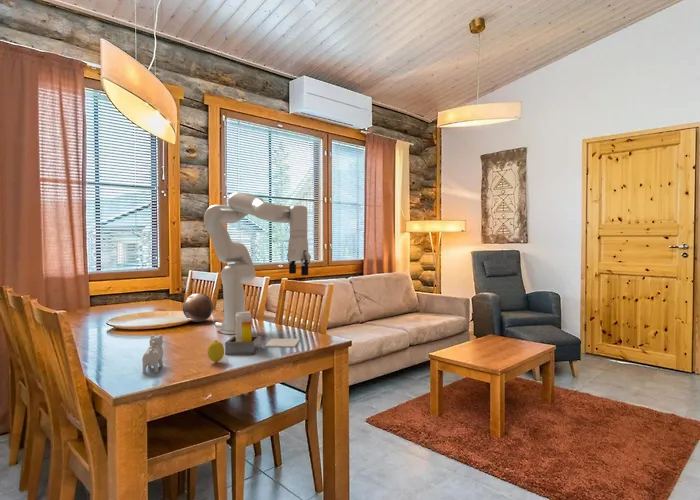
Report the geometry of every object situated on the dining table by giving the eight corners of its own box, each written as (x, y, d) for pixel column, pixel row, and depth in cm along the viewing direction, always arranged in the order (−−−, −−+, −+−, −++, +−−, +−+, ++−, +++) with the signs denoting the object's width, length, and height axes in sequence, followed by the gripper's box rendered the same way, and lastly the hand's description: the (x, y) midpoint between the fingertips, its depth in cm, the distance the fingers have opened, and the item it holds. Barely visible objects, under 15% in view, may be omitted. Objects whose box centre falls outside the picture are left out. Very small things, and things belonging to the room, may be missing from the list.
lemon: (209, 361, 159) (209, 338, 159) (225, 360, 159) (225, 338, 159) (206, 365, 154) (205, 342, 153) (222, 365, 154) (222, 342, 154)
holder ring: (225, 354, 168) (225, 342, 168) (234, 347, 179) (233, 335, 179) (254, 354, 168) (254, 342, 167) (261, 347, 179) (261, 336, 178)
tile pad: (265, 347, 179) (265, 345, 179) (271, 340, 191) (271, 338, 191) (294, 347, 178) (294, 345, 178) (299, 340, 190) (299, 338, 190)
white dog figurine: (166, 362, 157) (166, 332, 157) (158, 373, 145) (157, 341, 145) (150, 363, 156) (149, 333, 156) (140, 374, 144) (140, 341, 144)
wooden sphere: (176, 323, 227) (176, 294, 226) (195, 318, 241) (194, 291, 241) (202, 325, 223) (201, 295, 222) (219, 320, 237) (218, 292, 236)
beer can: (254, 349, 175) (254, 311, 175) (246, 353, 169) (245, 314, 169) (241, 348, 177) (241, 310, 177) (232, 352, 171) (232, 313, 171)
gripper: (280, 234, 196) (280, 273, 196) (302, 234, 182) (302, 276, 183) (295, 234, 200) (295, 272, 201) (317, 234, 187) (317, 275, 187)
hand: (298, 274), depth 192 cm, fingers open, 9 cm apart
